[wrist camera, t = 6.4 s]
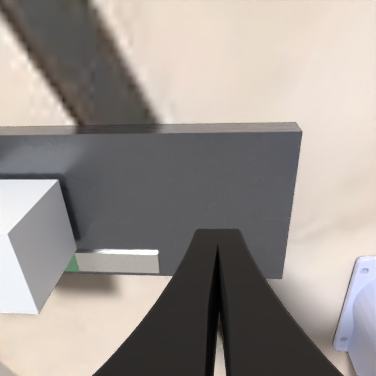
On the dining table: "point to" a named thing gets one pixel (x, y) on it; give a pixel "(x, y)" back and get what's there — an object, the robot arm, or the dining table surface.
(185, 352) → the robot arm
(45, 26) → the dining table surface
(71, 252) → the white rectangular block
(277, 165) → the gauge base
